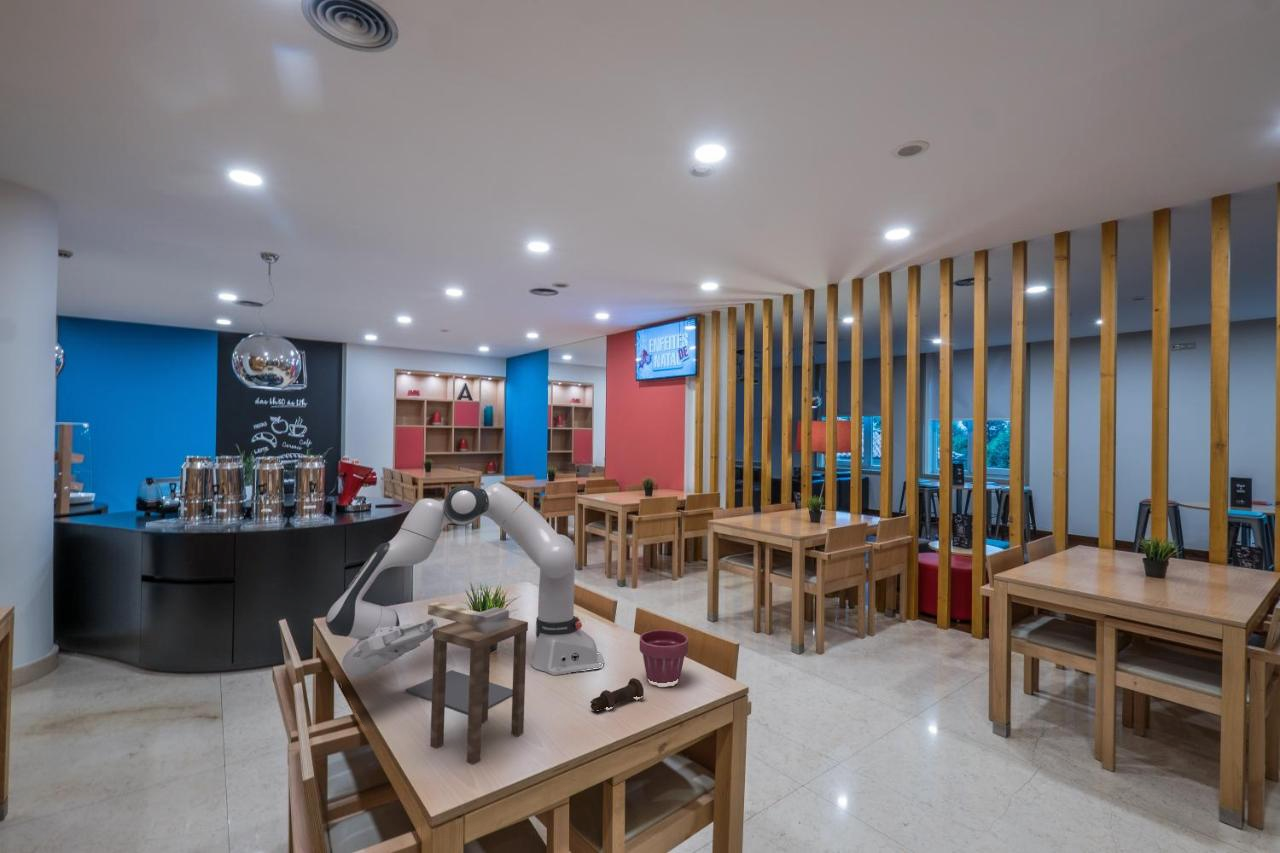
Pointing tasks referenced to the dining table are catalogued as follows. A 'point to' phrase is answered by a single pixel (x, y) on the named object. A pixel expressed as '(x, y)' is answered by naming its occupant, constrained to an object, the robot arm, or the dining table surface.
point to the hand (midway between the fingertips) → (417, 626)
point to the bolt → (618, 695)
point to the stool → (477, 679)
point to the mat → (459, 691)
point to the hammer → (472, 616)
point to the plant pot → (663, 654)
